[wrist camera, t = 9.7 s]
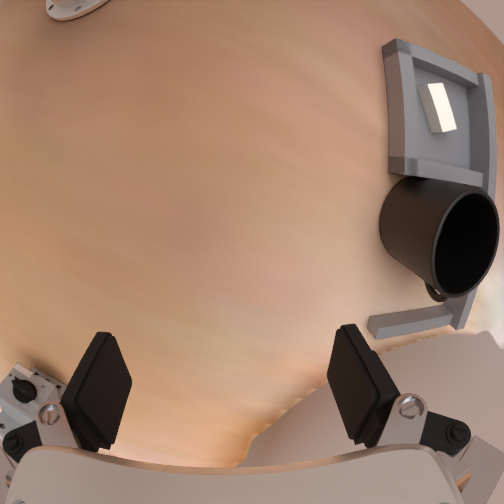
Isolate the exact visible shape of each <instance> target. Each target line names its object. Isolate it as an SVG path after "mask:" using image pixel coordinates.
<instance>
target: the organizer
mask: <svg viewBox="0 0 504 504" xmlns="http://www.w3.org/2000/svg"><path fill="white" fill-rule="evenodd" d="M382 52H383V59H384V68H385V77H386V88H387V103H388V127H389V163H388V172H391V173H397V174H403V175H411V176H419V177H426V178H433V179H439V180H445V181H451V182H457V183H463V184H466V185H465V186H469V187H473V188H477V189H480V190H483V191H484V192H486V193H487V194H488V195H489V196H490V197H491V199H492V200H493V202H494V200H495V188H496V170H497V137H496V119H495V108H494V99H493V92H492V85H491V79H490V77H489V76H487V75H486V74H484V73H478V74H477V73H475V72H473V71H471V70H469V69H468V68H466V67H464V66H462V65H460V64H458V63H456V62H454V61H452V60H450V59H448V58H446V57H443V56H441V55H439V54H437V53H434V52H432V51H430V50H427V49H425V48H422V47H420V46H417V45H414V44H412V43H409V42H406V41H403V40H400V39H397V38H395V39H393V40H392V41H390V42H389V43H387V44H386V45H384V46H383V47H382ZM434 83H443V86H444V88H445V91H446V94H447V97H448V100H449V103H450V107H451V110H452V113H453V117H454V120H455V124H456V128H457V129H454V130H450V131H446V132H434V133H431V131H430V127H429V124H428V120H427V117H426V114H425V111H424V107H423V104H422V101H421V99H420V96H419V93H418V90H417V87H419V86H423V85H426V84H434ZM477 287H478V286H477ZM477 287H476V288H475V289H474V290H472V291H471V292H470V293H468V294H466V295H464V296H462V297H458V298H448V299H447V300H446V301H444V304H443V305H439V306H434V307H428V308H423V309H417V310H411V311H404V312H397V313H391V314H383V315H376V316H370V317H369V322H368V326H367V328H368V330H369V331H370V333H371V334H372V335H373V337H374V338H375V340H378V339H383V338H389V337H395V336H400V335H405V334H410V333H415V332H420V331H424V330H429V329H433V328H437V327H441V326H446V325H449V324H450V325H451V326H452V327H453V328H454V329H455V330H459V329H462V328H464V326H465V324H466V321H467V318H468V315H469V312H470V310H471V307H472V304H473V300H474V297H475V294H476V291H477Z"/></svg>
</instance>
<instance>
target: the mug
mask: <svg viewBox="0 0 504 504" xmlns="http://www.w3.org/2000/svg"><path fill="white" fill-rule="evenodd" d="M380 231H381V236H382V240H383V243H384V245H385V247H386V249H387V251H388V252H389V253H390V254H391V256H393V257H394V258H395V259H396V260H398V261H399V262H401V263H402V264H403V265H405V266H406V267H407V268H409V269H410V270H411V271H413V272H414V273H415V274H416V275H418V276H419V277H420V278H422V279H423V280H424V281H425V286H426V289H427V291H428V293H429V295H430V296H431V298H432V299H433V300H435V301H437V302H444V301H446V300H447V299H448V298H458V297H462V296H464V295H466V294H468V293H470V292H471V291H472V290H474V289H475V288H476V287H477V286H478V285H479V284H480V282H481V281H482V280H483V279H484V277H485V276H486V274H487V273H488V271H489V269H490V267H491V265H492V263H493V260H494V258H495V255H496V251H497V247H498V242H499V232H500V227H499V217H498V212H497V209H496V206H495V204H494V202H493V200H492V199H491V197H490V196H489V195H488V194H487V193H486V192H484V191H483V190H480V189H477V188H473V187H469V186H465V185H461V184H456V183H452V182H447V181H443V180H438V179H433V178H426V177H419V176H413V177H409V178H406V179H404V180H403V181H401V182H400V183H398V184H397V185H396V186H395V187H394V188H393V189H392V190H391V192H390V193H389V195H388V196H387V198H386V200H385V202H384V205H383V208H382V212H381V218H380ZM435 289H436V290H437V291H438V292H439V293H441V294H438V293H437V292H436V291H435Z"/></svg>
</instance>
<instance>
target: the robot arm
mask: <svg viewBox="0 0 504 504" xmlns="http://www.w3.org/2000/svg"><path fill="white" fill-rule="evenodd" d="M107 1H108V0H47V1H46V11H47V14H48V15H49V16H50V17H52V18H54V19H55V20H59V21H66V20H71V19H75V18H78V17H80V16H83V15H85V14H87V13H89V12H91V11H93V10H94V9H96V8H98V7H99V6H101V5H103V4H104V3H105V2H107ZM327 378H328V382H329V384H330V387H331V390H332V392H333V395H334V398H335V400H336V403H337V406H338V409H339V412H340V414H341V417H342V420H343V423H344V425H345V428H346V431H347V434H348V437H349V438H350V439H353V440H354V443H355V445H357V444H360V443H364V444H365V446H366V447H367V449H364V450H360V451H355V452H351V453H347V454H342V455H338V456H333V457H328V458H323V459H317V460H311V461H305V462H298V463H291V464H283V465H273V466H261V467H244V468H201V467H183V466H171V465H162V464H154V463H146V462H140V461H134V460H128V459H123V458H118V457H113V456H108V455H103V454H99V453H98V450H99V448H103V449H108V450H110V447H111V444H114V443H115V439H116V436H117V432H118V429H119V425H120V422H121V418H122V415H123V412H124V408H125V405H126V402H127V399H128V395H129V392H130V389H131V386H132V379H131V376H130V374H129V371H128V369H127V367H126V364H125V362H124V359H123V357H122V354H121V351H120V349H119V346H118V343H117V341H116V338H115V337H114V336H112V334H111V333H109V332H97V333H96V335H95V337H94V338H93V340H92V342H91V343H90V345H89V347H88V349H87V350H86V352H85V354H84V356H83V357H82V359H81V361H80V363H79V365H78V367H77V368H76V370H75V372H74V374H73V376H72V378H71V380H70V382H69V384H68V386H67V388H66V389H65V391H64V393H63V395H62V398H61V401H60V403H58V402H55V401H48V402H45V403H43V404H42V405H40V406H39V407H38V409H37V411H36V414H35V417H36V420H34V421H32V422H30V423H27V424H25V425H23V426H21V427H18V428H16V429H13V430H11V431H9V432H8V433H7V434H6V435H5V436H4V439H3V447H2V448H1V447H0V504H486V503H487V501H488V499H489V497H490V496H491V494H492V492H493V490H494V488H495V486H496V485H497V482H498V481H499V479H500V476H501V475H502V473H503V470H504V453H503V452H502V451H500V450H498V449H497V448H495V447H493V446H492V445H490V444H488V443H487V442H485V441H484V440H482V439H481V438H479V437H477V436H476V435H475V436H474V437H472V436H471V432H470V429H469V427H468V426H467V425H466V424H465V423H464V422H461V421H459V420H455V419H452V418H448V417H446V416H442V415H439V414H436V413H433V412H430V411H427V410H428V409H427V408H428V407H427V404H426V402H425V401H424V399H423V398H421V397H420V396H418V395H416V394H411V393H407V394H403V395H401V394H400V392H399V391H398V389H397V387H396V386H395V384H394V382H393V380H392V379H391V377H390V375H389V373H388V372H387V370H386V368H385V367H384V365H383V363H382V362H381V360H380V358H379V357H378V355H377V354H376V352H375V351H373V350H372V351H371V349H370V347H369V346H368V344H367V342H366V341H365V339H364V337H363V336H362V334H361V332H360V331H359V329H358V328H357V326H356V325H355V324H348V325H342V326H341V327H340V329H337V331H336V335H335V340H334V345H333V350H332V354H331V359H330V363H329V367H328V371H327Z"/></svg>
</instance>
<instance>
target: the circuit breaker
mask: <svg viewBox="0 0 504 504" xmlns="http://www.w3.org/2000/svg"><path fill="white" fill-rule="evenodd" d="M38 375H39V376H38ZM49 381H50V382H49ZM59 387H60V388H59ZM66 388H67V385H65V384H63V383H61V382H59V381H57V380H55V379H54V378H52V377H50V376H48V375H46V374H45V373H43V372H41V371H40V370H38V369H36V368H35V367H32V369H31V370H29V369H27V368H26V367H24V366H22V365H21V364H19V363H18V362H17V364H16V365H15V366H14V367H13V369H12V370H11V371H10V372H9V374H8V375H7V376H6V378H5V379H4V380H3V382H2V383H1V384H0V406H1V408H2V411H1V413H0V438H1V440H2V441H3V439H4V436H5V435H6V434H7V433H8V432H9V431H11V430H13V429H16V428H18V427H21V426H23V425H25V424H27V423H30V422H32V421H34V420H36V417H35V414H36V411H37V409H38V407H39V406H40V405H42V404H43V403H45V402H48V401H55V402H58V403H60V401H61V398H62V395H63V393H64V391H65V389H66Z"/></svg>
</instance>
